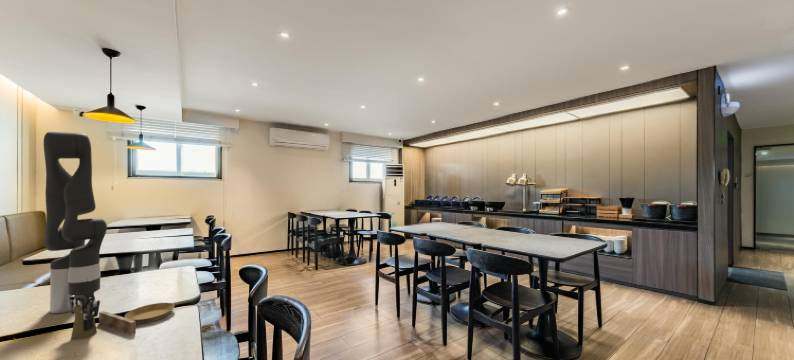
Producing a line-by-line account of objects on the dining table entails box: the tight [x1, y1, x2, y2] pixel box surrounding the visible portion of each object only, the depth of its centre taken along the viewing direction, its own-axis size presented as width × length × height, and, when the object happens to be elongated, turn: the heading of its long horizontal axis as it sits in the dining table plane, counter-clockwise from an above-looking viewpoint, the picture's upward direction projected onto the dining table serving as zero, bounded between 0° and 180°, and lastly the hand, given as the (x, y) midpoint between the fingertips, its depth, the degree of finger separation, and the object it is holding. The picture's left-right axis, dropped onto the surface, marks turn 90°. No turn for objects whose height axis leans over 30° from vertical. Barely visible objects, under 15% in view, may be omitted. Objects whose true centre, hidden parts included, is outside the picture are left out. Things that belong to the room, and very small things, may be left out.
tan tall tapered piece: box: [70, 304, 97, 341], centre depth 101 cm, size 6×6×11 cm
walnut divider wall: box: [98, 310, 137, 335], centre depth 106 cm, size 20×1×4 cm, turn 68°
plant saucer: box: [124, 302, 175, 324], centre depth 115 cm, size 15×15×3 cm
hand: (84, 328), depth 101 cm, fingers open, 4 cm apart
